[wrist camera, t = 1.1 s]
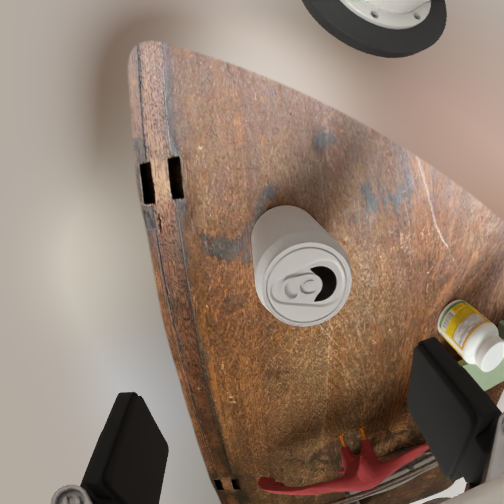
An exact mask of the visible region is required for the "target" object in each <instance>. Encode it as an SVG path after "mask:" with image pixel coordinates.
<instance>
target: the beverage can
mask: <svg viewBox="0 0 504 504" xmlns="http://www.w3.org/2000/svg"><path fill="white" fill-rule="evenodd" d="M251 244H252V254H253V265H254V276H255V286H256V291H257V294H258V297H259V299H260V301H261V302H262V304H263V305H264V306H265V307H266V309H268V310H269V311H270V312H271V313H272V314H273V315H274V316H275V317H276V318H278V319H279V320H281V321H282V322H284V323H287V324H290V325H293V326H313V325H317V324H320V323H322V322H325V321H327V320H328V319H330V318H331V317H333V316H334V315H335V314H336V313H338V312H339V310H340V309H341V308H342V307H343V306H344V304H345V302H346V300H347V298H348V296H349V294H350V290H351V284H352V278H351V266H350V261H349V258H348V256H347V254H346V252H345V250H344V249H343V248H342V246H341V245H340V244H339V243H338V242H337V241H336V240H335V239H334V238H333V237H332V236H331V235H330V234H329V233H328V232H327V231H326V230H325V229H324V228H323V227H322V226H321V225H320V224H319V223H318V222H317V221H316V220H315V219H314V218H313V217H312V216H310V215H309V214H308V213H307V212H306V211H304V210H303V209H301V208H298V207H295V206H290V205H283V206H277V207H274V208H272V209H270V210H268V211H266V212H265V213H264V214H263V215H261V217H260V218H259V219H258V220H257V222H256V223H255V225H254V228H253V231H252V235H251Z"/></svg>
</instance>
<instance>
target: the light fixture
mask: <svg viewBox="0 0 504 504" xmlns="http://www.w3.org/2000/svg"><path fill="white" fill-rule="evenodd" d="M419 445H422V444H418V445H413V446H410V447H406V448H403V449H401V450H398V451H395V452H392V453H390V454H388V455H385V456H383V457H382V458H381V459H380V460H378V461H379V462H385V461H388V460H390V459H393V458H395V457H398V456H400V455H402V454H403V453H405V452H407V451H409V450H411V449H413V448H415V447H417V446H419ZM437 465H438V463H437V461H436V459H435V457H434V455H433V453H432V452H431V450H430V448H429V449H428V450H426V451H425V452H423V453H422V454H421V455H420V456H419V457H417V458H416V459H414V460H413V461H411V462H409V463H407V464H406V465H404V466H402V467H401V468H399V469H398V470H397V471H396V472H395V473H393V474H392V475H391V476H389V477H388V478H386V479H385V480H384V481H382V482H381V483H380V484H378V485H377V486H375V487H374V488H372V489H369V490H365V491H354V492H345V495H346V496H347V497H344V498H341V499H338V500H335V501H332V502H329V503H326V504H348V503H351V502H354V501H357V500H360V499H363V498H366V497H368V496H372V495H375V494H379V493H382V492H385V491H388V490H390V489H393V488H395V487H397V486H399V485H401V484H403V483H405V482H407V481H409V480H411V479H413V478H414V477H416V476H418V475H420V474H422V473H424V472H426V471H428V470H430V469H432V468H434V467H436V466H437ZM449 499H451V498H437V499H433V500H430V501H427V502H425V503H423V504H440V503H442V502H444V501H447V500H449Z"/></svg>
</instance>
